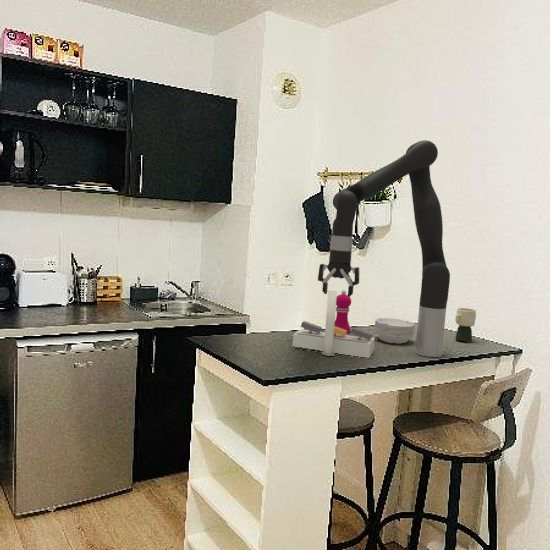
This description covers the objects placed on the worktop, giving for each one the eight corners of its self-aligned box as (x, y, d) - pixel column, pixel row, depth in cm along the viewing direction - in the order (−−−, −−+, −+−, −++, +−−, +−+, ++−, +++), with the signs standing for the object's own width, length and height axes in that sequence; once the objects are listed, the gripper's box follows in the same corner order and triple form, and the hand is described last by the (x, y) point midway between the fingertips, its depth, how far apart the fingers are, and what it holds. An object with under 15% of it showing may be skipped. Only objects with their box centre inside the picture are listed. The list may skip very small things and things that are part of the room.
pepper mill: (343, 346, 204) (347, 292, 202) (326, 342, 208) (330, 289, 206) (353, 343, 210) (357, 290, 207) (336, 339, 214) (340, 288, 212)
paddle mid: (345, 335, 198) (347, 330, 197) (343, 336, 195) (345, 332, 195) (327, 328, 200) (328, 323, 199) (325, 330, 197) (326, 325, 197)
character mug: (465, 338, 230) (469, 307, 229) (479, 342, 224) (483, 310, 223) (447, 340, 225) (450, 308, 224) (460, 344, 219) (463, 311, 217)
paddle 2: (370, 338, 195) (372, 333, 195) (369, 340, 192) (371, 335, 192) (351, 331, 197) (353, 326, 196) (350, 333, 194) (351, 328, 194)
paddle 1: (320, 332, 200) (322, 327, 200) (318, 333, 198) (320, 328, 197) (302, 325, 202) (304, 320, 202) (300, 326, 200) (302, 322, 199)
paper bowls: (421, 345, 213) (423, 324, 212) (387, 346, 208) (389, 325, 207) (398, 336, 227) (400, 316, 226) (366, 337, 222) (367, 317, 221)
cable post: (335, 354, 192) (340, 291, 189) (332, 357, 187) (337, 293, 185) (323, 353, 193) (327, 290, 190) (320, 355, 189) (324, 291, 186)
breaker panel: (373, 351, 199) (374, 336, 198) (368, 358, 189) (370, 342, 188) (301, 341, 208) (302, 326, 207) (292, 348, 197) (293, 332, 196)
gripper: (363, 250, 195) (359, 295, 197) (323, 246, 200) (320, 291, 202) (359, 251, 188) (355, 298, 190) (318, 247, 193) (314, 294, 195)
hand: (337, 295), depth 196 cm, fingers open, 8 cm apart
